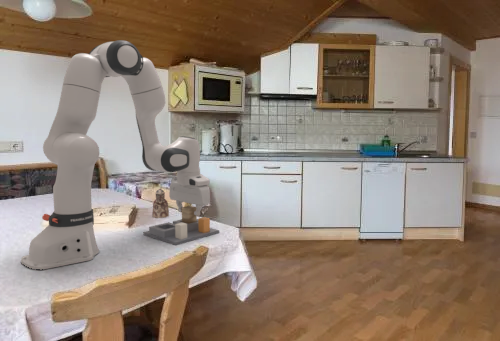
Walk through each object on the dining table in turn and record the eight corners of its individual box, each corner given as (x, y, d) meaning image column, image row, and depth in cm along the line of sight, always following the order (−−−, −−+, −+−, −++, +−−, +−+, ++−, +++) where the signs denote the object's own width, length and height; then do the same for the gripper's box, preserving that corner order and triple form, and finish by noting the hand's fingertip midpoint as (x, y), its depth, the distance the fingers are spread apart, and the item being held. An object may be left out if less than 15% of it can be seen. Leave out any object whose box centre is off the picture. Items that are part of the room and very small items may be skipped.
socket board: (175, 245, 146) (175, 228, 145) (143, 234, 159) (142, 219, 158) (219, 232, 162) (219, 217, 161) (186, 224, 174) (186, 209, 173)
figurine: (151, 218, 184) (150, 190, 183) (154, 214, 191) (153, 188, 190) (167, 217, 185) (166, 190, 183) (169, 214, 192) (169, 188, 190)
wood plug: (188, 229, 163) (188, 208, 162) (182, 227, 165) (181, 207, 164) (196, 227, 166) (196, 207, 165) (189, 225, 168) (189, 205, 167)
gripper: (165, 176, 167) (165, 211, 169) (200, 182, 154) (200, 219, 156) (177, 175, 172) (178, 208, 174) (212, 180, 159) (212, 216, 160)
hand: (189, 213), depth 165 cm, fingers open, 8 cm apart
